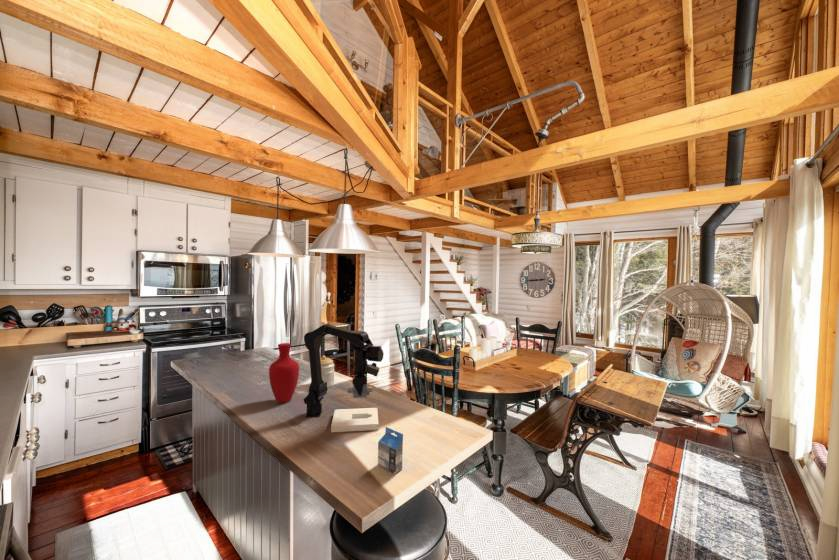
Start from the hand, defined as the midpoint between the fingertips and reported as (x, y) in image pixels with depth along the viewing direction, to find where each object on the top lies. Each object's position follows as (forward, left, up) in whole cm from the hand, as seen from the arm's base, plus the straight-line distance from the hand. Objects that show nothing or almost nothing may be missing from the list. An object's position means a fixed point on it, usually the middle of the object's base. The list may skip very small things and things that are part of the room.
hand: (360, 393), depth 155 cm
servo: (0, 0, -1) cm, 1 cm away
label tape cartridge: (+11, -38, -13) cm, 42 cm away
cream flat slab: (-2, 0, -13) cm, 13 cm away
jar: (-23, +55, -13) cm, 61 cm away
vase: (-40, +30, -13) cm, 52 cm away
